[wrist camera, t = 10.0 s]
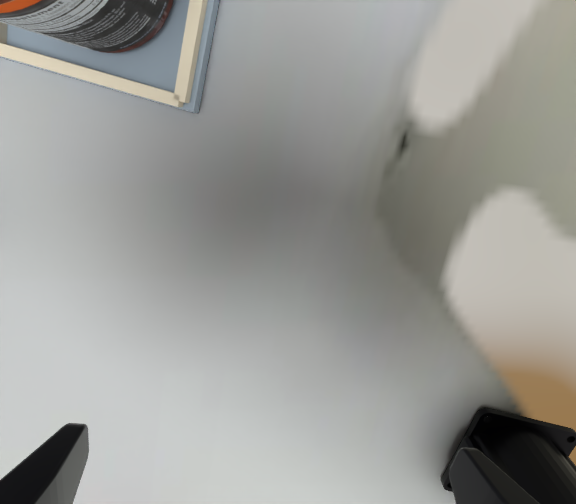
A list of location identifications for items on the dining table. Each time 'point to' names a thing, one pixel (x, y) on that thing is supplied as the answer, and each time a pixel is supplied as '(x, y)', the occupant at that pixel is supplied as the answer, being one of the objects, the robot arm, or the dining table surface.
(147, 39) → the supplement bottle
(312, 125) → the dining table surface
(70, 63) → the board
